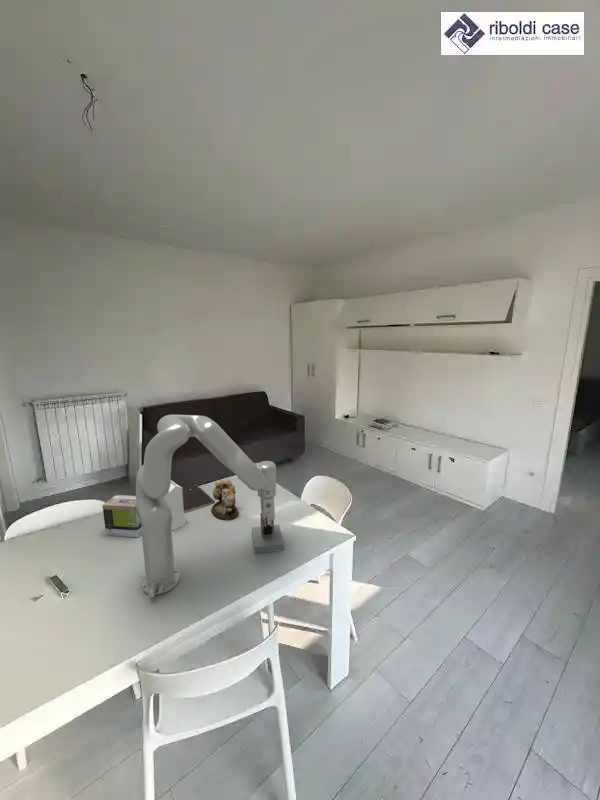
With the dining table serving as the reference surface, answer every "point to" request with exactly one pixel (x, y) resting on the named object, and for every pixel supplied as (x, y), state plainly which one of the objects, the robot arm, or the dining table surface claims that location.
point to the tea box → (122, 516)
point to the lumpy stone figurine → (224, 500)
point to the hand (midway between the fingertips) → (267, 530)
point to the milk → (175, 505)
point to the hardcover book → (195, 498)
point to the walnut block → (264, 525)
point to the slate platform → (267, 540)
